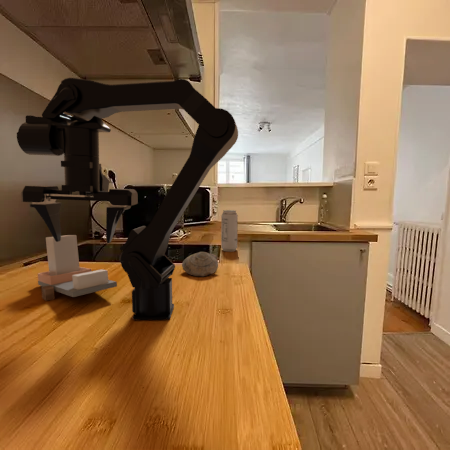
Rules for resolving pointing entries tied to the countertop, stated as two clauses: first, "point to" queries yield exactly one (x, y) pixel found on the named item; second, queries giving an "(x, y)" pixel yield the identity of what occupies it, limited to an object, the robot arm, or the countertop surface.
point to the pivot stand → (47, 293)
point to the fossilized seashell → (200, 264)
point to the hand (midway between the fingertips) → (83, 242)
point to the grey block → (62, 255)
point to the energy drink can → (229, 230)
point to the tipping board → (76, 292)
